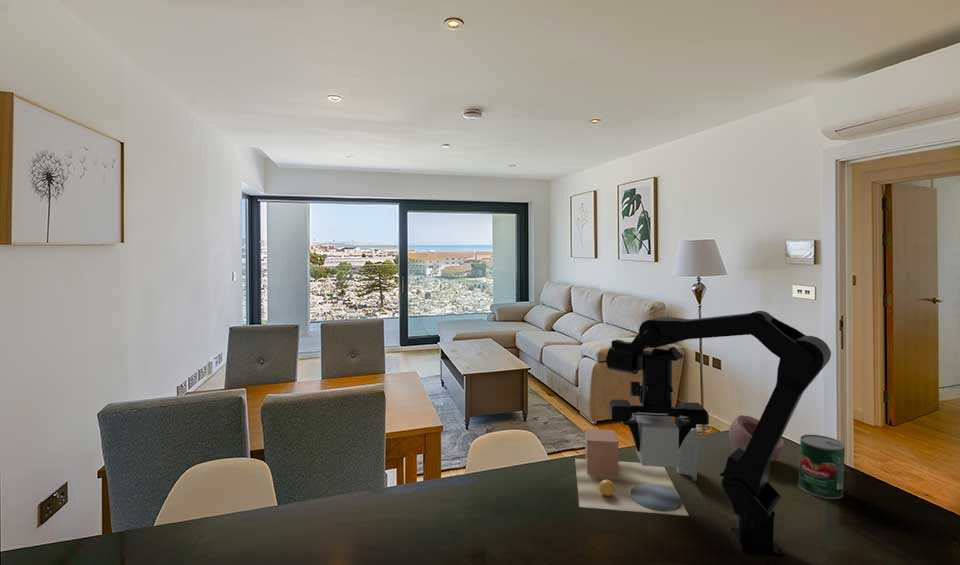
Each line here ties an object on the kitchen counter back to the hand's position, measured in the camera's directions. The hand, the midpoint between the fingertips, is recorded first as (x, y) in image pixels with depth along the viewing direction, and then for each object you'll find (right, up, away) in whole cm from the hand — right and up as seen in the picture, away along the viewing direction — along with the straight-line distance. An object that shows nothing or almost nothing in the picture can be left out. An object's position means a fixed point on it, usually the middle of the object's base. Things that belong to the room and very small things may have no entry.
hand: (656, 451), depth 94 cm
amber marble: (-10, -10, +2) cm, 14 cm away
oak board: (-5, -11, +7) cm, 13 cm away
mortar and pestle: (+33, -10, +19) cm, 39 cm away
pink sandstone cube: (-8, -9, +14) cm, 19 cm away
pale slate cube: (0, -2, 0) cm, 2 cm away
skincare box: (+12, -11, +13) cm, 21 cm away
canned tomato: (+38, -11, +5) cm, 40 cm away
